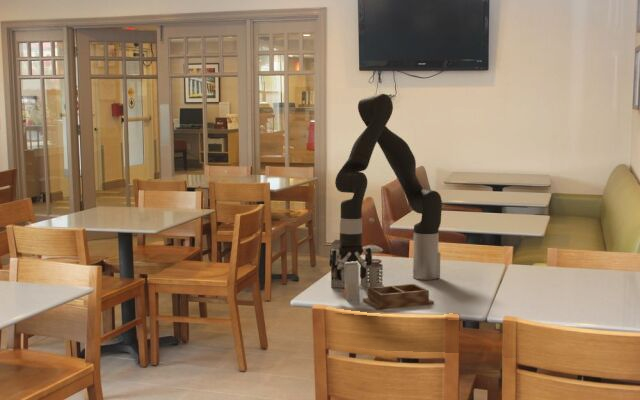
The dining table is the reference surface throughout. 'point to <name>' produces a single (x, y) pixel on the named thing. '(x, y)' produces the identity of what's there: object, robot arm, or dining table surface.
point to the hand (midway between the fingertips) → (350, 279)
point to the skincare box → (351, 280)
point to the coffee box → (334, 281)
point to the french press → (372, 269)
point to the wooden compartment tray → (397, 296)
